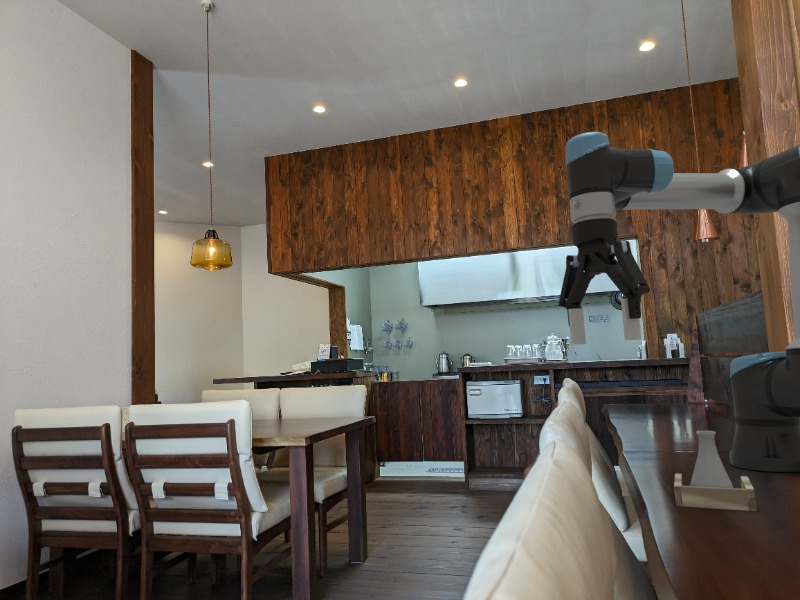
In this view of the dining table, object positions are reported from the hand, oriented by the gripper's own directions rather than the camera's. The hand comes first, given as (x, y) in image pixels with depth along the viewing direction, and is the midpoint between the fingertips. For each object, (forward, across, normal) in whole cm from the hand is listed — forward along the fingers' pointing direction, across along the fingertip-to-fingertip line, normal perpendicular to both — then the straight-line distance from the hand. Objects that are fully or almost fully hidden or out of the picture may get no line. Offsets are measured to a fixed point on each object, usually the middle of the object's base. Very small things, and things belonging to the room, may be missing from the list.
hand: (604, 342), depth 99 cm
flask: (+27, +2, +19) cm, 33 cm away
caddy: (+26, +7, +13) cm, 31 cm away
